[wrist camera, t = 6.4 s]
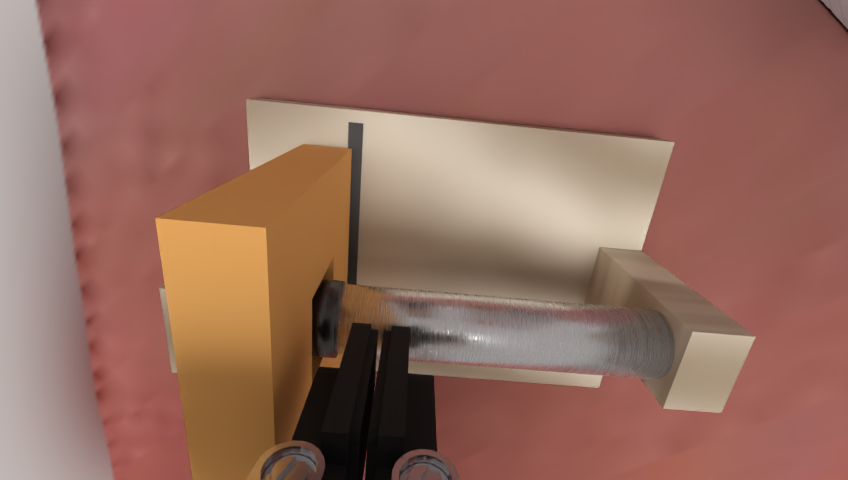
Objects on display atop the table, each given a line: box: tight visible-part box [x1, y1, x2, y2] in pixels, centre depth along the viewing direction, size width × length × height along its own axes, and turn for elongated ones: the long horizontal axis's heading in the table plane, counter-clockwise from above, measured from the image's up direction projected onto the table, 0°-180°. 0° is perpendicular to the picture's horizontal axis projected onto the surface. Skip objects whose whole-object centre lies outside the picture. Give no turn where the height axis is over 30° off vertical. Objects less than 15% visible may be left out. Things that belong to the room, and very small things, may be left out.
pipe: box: [312, 279, 675, 380], centre depth 14 cm, size 3×17×3 cm, turn 84°
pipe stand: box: [159, 98, 755, 413], centre depth 17 cm, size 13×18×8 cm
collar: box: [155, 144, 352, 480], centre depth 14 cm, size 10×2×10 cm, turn 174°
